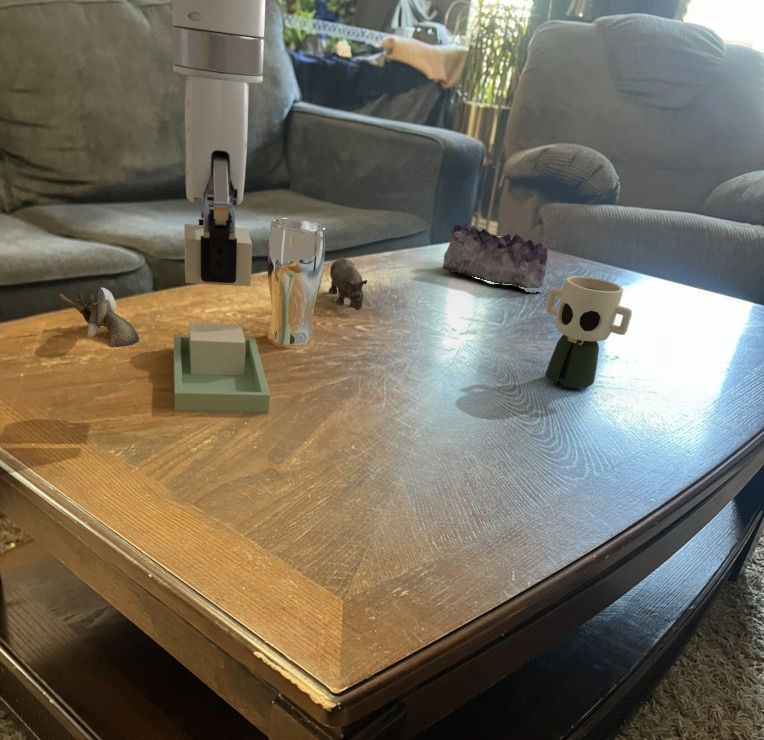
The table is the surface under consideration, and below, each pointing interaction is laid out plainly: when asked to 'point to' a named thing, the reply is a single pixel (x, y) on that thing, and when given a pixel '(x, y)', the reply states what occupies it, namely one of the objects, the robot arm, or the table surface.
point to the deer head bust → (104, 318)
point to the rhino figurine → (347, 282)
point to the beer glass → (294, 279)
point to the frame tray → (219, 384)
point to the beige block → (216, 349)
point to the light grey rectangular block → (194, 256)
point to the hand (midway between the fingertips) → (216, 269)
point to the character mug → (583, 327)
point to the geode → (495, 257)
